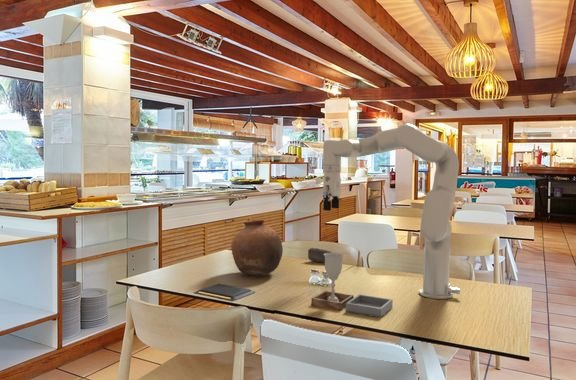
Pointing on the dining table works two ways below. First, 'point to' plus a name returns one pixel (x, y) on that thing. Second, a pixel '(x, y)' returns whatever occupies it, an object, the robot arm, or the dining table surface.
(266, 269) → the pottery
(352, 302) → the parts tray
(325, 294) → the tray
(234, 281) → the dining table surface
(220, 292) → the dark grey book
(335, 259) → the chalice
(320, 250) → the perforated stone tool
